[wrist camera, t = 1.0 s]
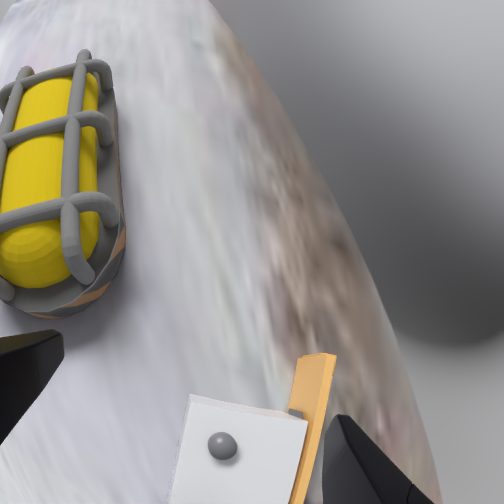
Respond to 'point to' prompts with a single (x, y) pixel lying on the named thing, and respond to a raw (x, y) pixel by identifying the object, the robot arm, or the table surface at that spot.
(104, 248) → the cage light
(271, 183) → the table surface
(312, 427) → the side door
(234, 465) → the block
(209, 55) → the table surface
